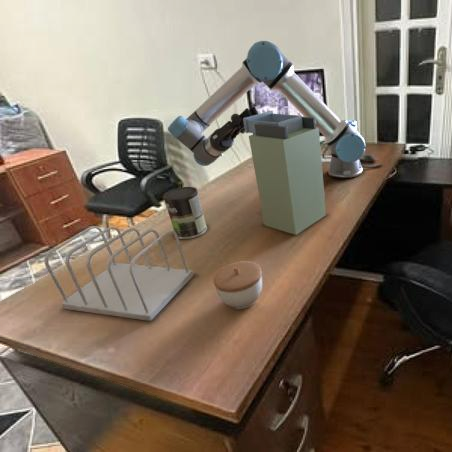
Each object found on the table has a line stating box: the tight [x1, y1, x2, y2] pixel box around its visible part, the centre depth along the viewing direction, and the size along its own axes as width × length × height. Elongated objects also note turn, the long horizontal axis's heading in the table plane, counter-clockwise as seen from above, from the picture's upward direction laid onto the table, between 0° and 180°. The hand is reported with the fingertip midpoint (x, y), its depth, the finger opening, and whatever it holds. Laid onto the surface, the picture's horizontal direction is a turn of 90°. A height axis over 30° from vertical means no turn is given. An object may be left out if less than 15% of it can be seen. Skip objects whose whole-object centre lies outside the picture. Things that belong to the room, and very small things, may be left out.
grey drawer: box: [230, 110, 303, 134], centre depth 109 cm, size 26×12×4 cm, turn 54°
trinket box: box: [213, 260, 263, 310], centre depth 81 cm, size 11×11×9 cm
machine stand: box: [248, 116, 327, 236], centre depth 112 cm, size 14×16×33 cm
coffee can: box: [162, 186, 208, 240], centre depth 114 cm, size 10×10×14 cm
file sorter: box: [43, 225, 195, 322], centre depth 86 cm, size 25×17×16 cm
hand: (252, 111), depth 110 cm, fingers closed on grey drawer, 2 cm apart
